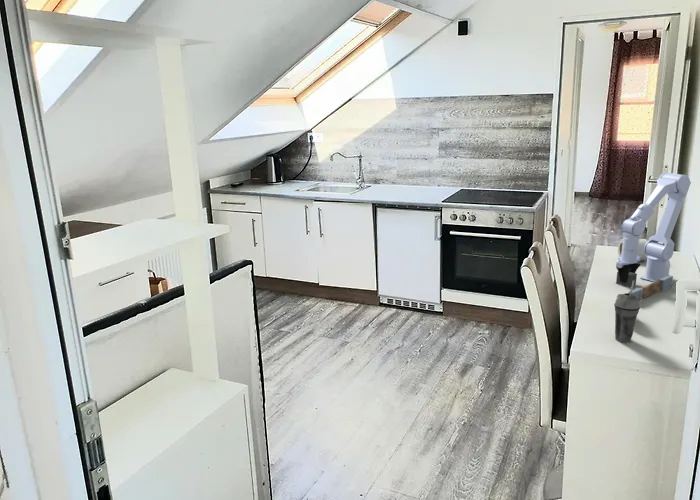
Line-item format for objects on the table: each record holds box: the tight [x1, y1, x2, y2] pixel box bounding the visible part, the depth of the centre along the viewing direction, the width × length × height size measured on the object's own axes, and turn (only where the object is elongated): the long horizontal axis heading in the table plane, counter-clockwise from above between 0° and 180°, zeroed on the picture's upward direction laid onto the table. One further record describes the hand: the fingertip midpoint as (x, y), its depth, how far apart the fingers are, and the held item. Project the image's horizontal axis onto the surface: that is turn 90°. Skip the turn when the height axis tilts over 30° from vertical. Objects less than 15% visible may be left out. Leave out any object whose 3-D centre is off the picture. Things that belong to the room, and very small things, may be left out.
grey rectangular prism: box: [615, 271, 638, 288], centre depth 225 cm, size 4×6×5 cm, turn 35°
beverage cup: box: [614, 280, 641, 344], centre depth 174 cm, size 7×7×20 cm
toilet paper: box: [617, 238, 648, 262], centre depth 256 cm, size 10×10×10 cm
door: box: [640, 280, 661, 299], centre depth 213 cm, size 15×1×4 cm, turn 125°
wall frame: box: [628, 274, 674, 302], centre depth 214 cm, size 30×2×4 cm, turn 125°
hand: (626, 281), depth 225 cm, fingers closed on grey rectangular prism, 4 cm apart
